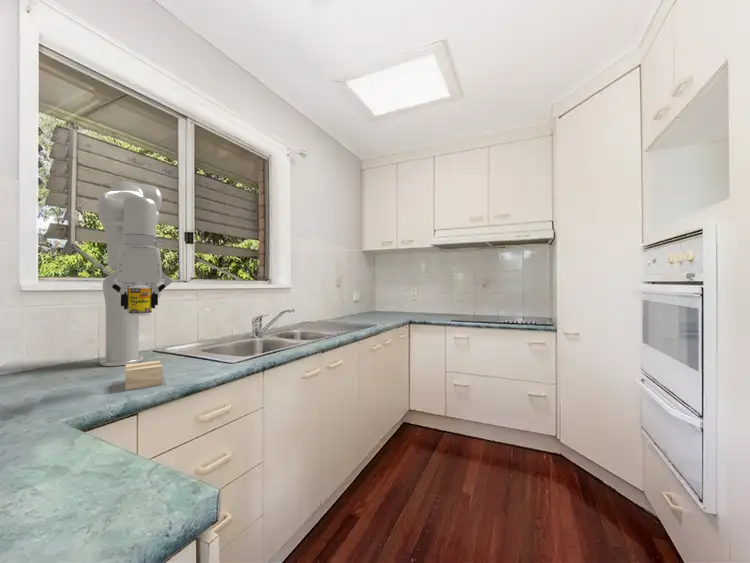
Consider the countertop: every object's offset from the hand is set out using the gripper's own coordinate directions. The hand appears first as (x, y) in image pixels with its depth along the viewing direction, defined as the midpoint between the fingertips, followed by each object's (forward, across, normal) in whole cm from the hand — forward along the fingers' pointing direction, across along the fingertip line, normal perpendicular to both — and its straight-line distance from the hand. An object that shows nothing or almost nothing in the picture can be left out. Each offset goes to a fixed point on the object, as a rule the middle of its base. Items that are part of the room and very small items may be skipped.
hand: (139, 308), depth 92 cm
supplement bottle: (+2, 0, 0) cm, 2 cm away
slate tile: (+22, 0, -1) cm, 22 cm away
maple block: (+21, -1, 0) cm, 21 cm away
